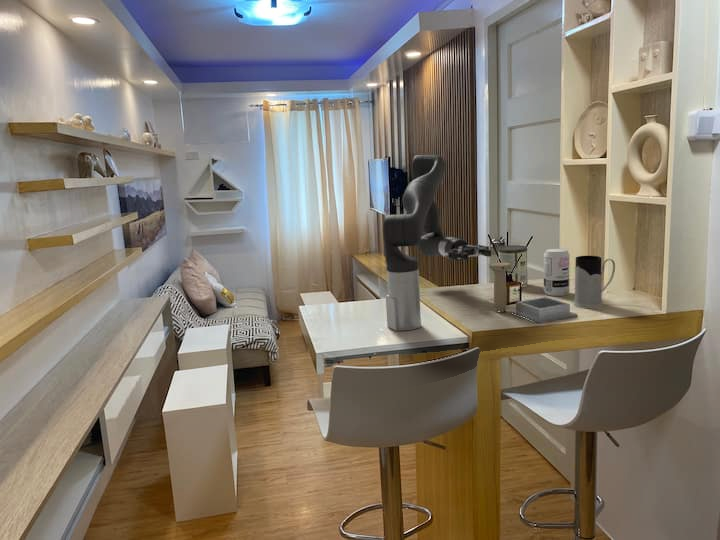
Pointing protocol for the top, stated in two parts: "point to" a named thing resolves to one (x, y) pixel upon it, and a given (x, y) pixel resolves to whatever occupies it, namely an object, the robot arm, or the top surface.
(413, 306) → the robot arm
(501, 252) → the lidded glass jar
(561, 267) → the supplement can
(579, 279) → the grey mug
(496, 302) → the handle
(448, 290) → the top surface
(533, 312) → the collar
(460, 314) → the top surface
